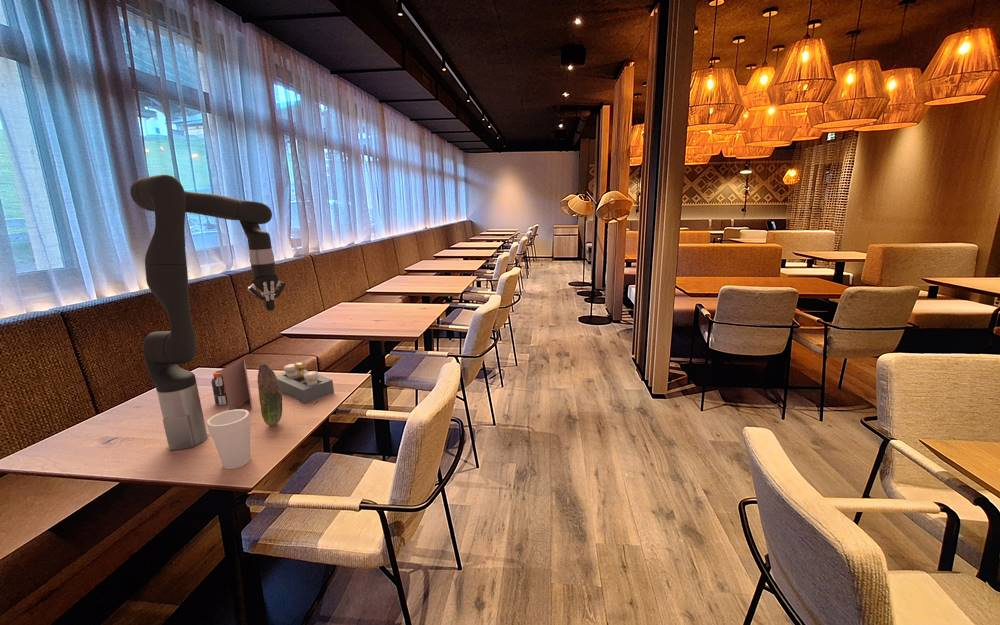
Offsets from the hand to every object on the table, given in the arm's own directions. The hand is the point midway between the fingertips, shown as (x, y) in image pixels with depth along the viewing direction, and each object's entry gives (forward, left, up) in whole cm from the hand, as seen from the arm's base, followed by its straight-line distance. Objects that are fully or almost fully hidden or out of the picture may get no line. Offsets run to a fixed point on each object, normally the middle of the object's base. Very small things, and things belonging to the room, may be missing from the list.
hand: (270, 310), depth 159 cm
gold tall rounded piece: (-4, -8, -26) cm, 28 cm away
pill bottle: (-6, +17, -30) cm, 36 cm away
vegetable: (-29, -5, -30) cm, 42 cm away
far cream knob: (+1, -4, -29) cm, 29 cm away
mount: (-4, -8, -30) cm, 32 cm away
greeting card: (-11, +8, -30) cm, 33 cm away
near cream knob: (-10, -13, -29) cm, 33 cm away
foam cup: (-50, -1, -30) cm, 59 cm away
